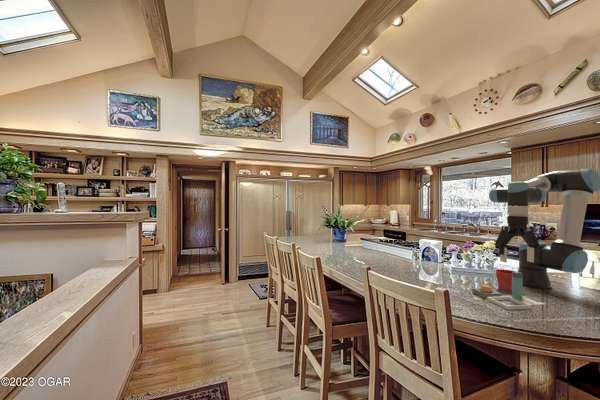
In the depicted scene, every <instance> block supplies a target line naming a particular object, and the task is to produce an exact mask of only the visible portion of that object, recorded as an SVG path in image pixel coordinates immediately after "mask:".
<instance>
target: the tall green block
mask: <svg viewBox="0 0 600 400" xmlns="http://www.w3.org/2000/svg"><path fill="white" fill-rule="evenodd" d="M512 271H513V272H512V292H511V295H512V298H515V299H517V300H522V295H523V286H524V285H523V273H521V272H518V271H517V272H515V271H516V270H512Z"/></svg>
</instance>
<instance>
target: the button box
mask: <svg viewBox="0 0 600 400" xmlns="http://www.w3.org/2000/svg"><path fill="white" fill-rule="evenodd" d="M471 289H472V290H471V291H472V294H473V295H476V296H479V297H480V298H483V299H485V300H487V297H501V296H502V293H501V292H499V291H496V290H494V289H492V293H485V292H483V291H481V287H472V288H471Z"/></svg>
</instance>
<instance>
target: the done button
mask: <svg viewBox="0 0 600 400" xmlns="http://www.w3.org/2000/svg"><path fill="white" fill-rule="evenodd" d="M480 288H481V291H483V292H485V293H492V290H493V287H492V286H490V285H487V284H481V285H480Z"/></svg>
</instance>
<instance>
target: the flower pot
mask: <svg viewBox="0 0 600 400" xmlns="http://www.w3.org/2000/svg"><path fill="white" fill-rule="evenodd" d="M513 271H515V272H518V270H517V271H516V270H511V269H501V268H500V269H495V275H496V282H497V286H498V289H500V290H501V291H505V292H511V293H512V272H513Z"/></svg>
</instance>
